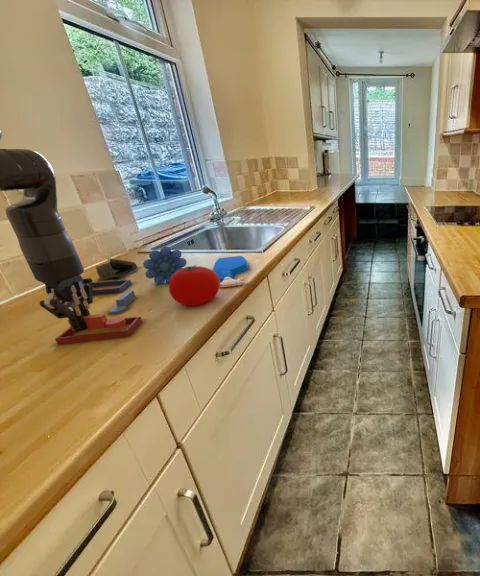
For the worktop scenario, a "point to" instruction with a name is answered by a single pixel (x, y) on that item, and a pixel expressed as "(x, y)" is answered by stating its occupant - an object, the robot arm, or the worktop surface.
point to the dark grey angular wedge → (115, 269)
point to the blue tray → (123, 284)
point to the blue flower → (163, 264)
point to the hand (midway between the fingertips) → (84, 327)
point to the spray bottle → (230, 270)
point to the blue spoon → (123, 302)
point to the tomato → (194, 285)
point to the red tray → (67, 337)
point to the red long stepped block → (102, 322)
